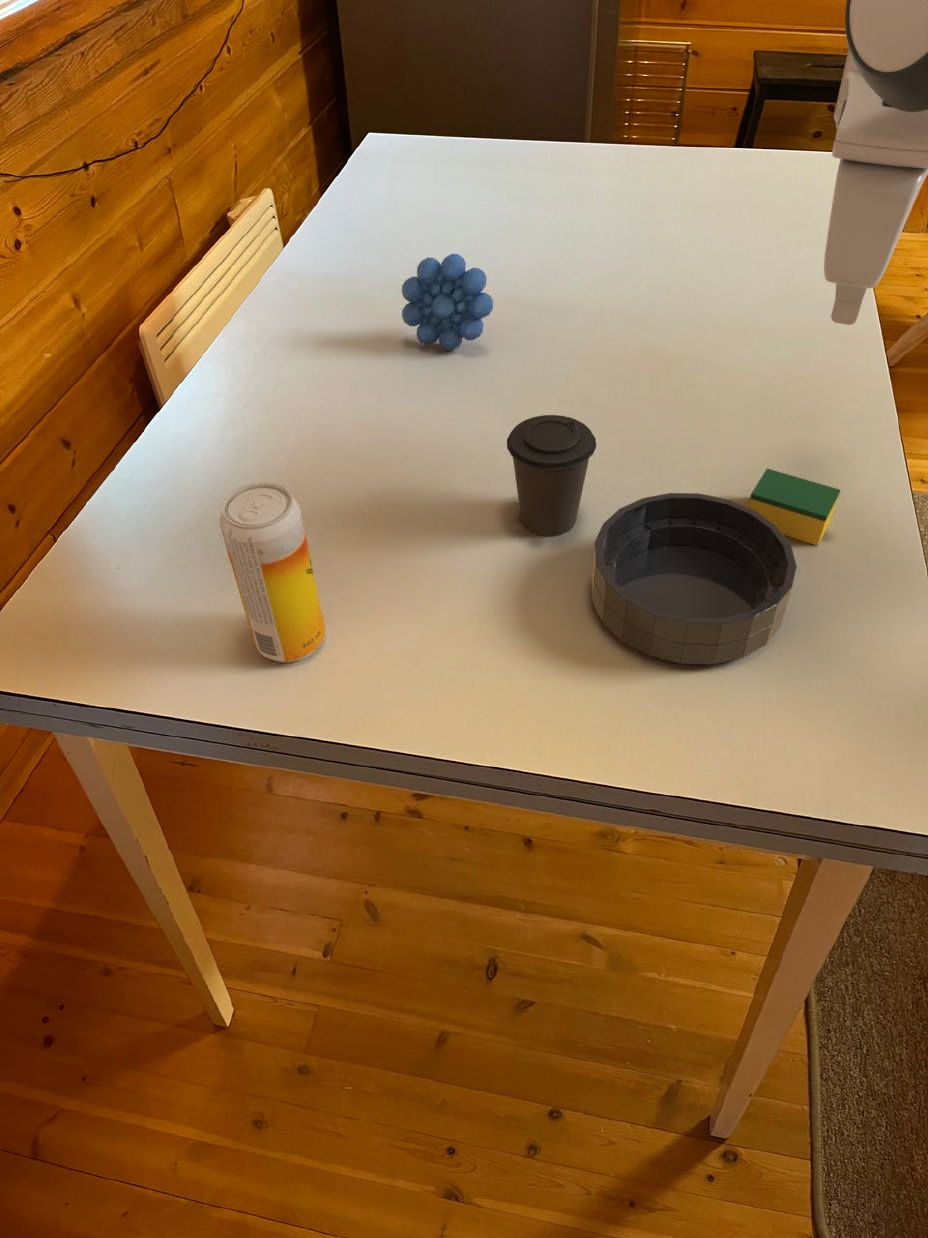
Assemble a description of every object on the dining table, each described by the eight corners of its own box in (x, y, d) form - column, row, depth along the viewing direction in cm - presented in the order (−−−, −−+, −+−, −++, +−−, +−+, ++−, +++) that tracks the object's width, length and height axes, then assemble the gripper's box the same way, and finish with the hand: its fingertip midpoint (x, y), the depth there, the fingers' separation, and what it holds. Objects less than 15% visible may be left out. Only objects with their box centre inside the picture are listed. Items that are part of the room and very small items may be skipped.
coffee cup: (603, 506, 91) (611, 419, 84) (570, 555, 86) (575, 467, 79) (528, 484, 94) (530, 398, 87) (492, 531, 89) (490, 444, 82)
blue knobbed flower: (505, 339, 114) (504, 242, 106) (487, 366, 110) (485, 268, 101) (418, 325, 118) (410, 231, 109) (397, 352, 113) (387, 255, 105)
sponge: (831, 518, 88) (841, 489, 86) (817, 546, 86) (826, 516, 83) (759, 497, 91) (766, 467, 89) (744, 522, 88) (751, 493, 86)
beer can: (338, 624, 81) (311, 486, 70) (307, 674, 77) (274, 536, 66) (275, 610, 82) (240, 473, 72) (243, 658, 78) (200, 521, 68)
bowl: (765, 540, 86) (777, 493, 83) (797, 673, 75) (813, 626, 71) (588, 537, 88) (592, 491, 84) (594, 668, 76) (598, 621, 72)
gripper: (882, 48, 69) (837, 233, 79) (831, 138, 57) (785, 345, 67) (973, 55, 67) (915, 244, 77) (942, 150, 55) (877, 361, 64)
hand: (854, 291), depth 72 cm, fingers open, 8 cm apart
